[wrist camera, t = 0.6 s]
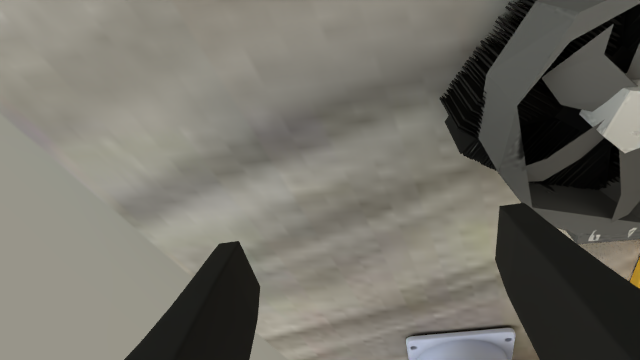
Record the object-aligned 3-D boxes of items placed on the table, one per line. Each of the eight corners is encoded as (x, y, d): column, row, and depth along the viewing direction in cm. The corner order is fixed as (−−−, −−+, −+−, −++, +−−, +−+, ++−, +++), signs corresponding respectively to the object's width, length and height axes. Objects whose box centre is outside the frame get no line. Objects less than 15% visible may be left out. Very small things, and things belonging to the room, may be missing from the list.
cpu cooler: (721, -148, 8) (955, 57, 11) (583, -129, 13) (767, 12, 15) (437, 186, 14) (632, 273, 16) (411, 116, 18) (566, 191, 21)
